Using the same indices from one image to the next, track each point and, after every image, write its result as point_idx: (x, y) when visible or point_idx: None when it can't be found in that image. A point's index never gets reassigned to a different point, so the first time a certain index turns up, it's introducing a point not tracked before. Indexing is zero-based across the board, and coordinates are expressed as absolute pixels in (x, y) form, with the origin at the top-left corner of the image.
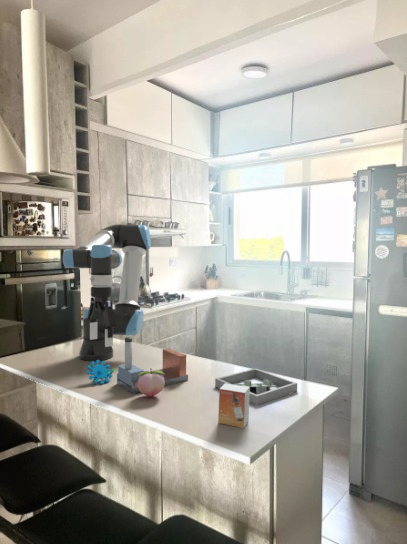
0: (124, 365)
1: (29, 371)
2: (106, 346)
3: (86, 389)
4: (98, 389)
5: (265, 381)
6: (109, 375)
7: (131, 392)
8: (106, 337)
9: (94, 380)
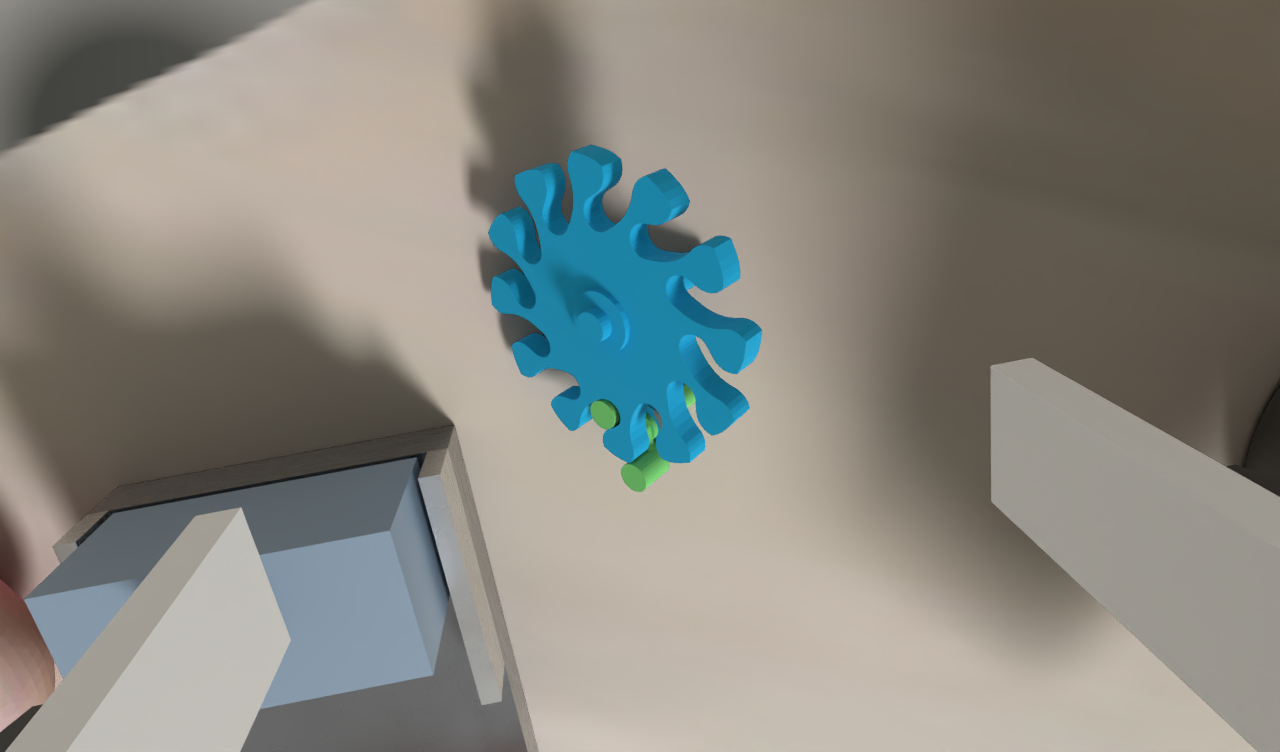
0: (378, 599)
1: None
2: (196, 531)
3: (414, 93)
4: (365, 215)
5: None
6: (570, 401)
7: (136, 485)
8: (92, 664)
9: (505, 214)
